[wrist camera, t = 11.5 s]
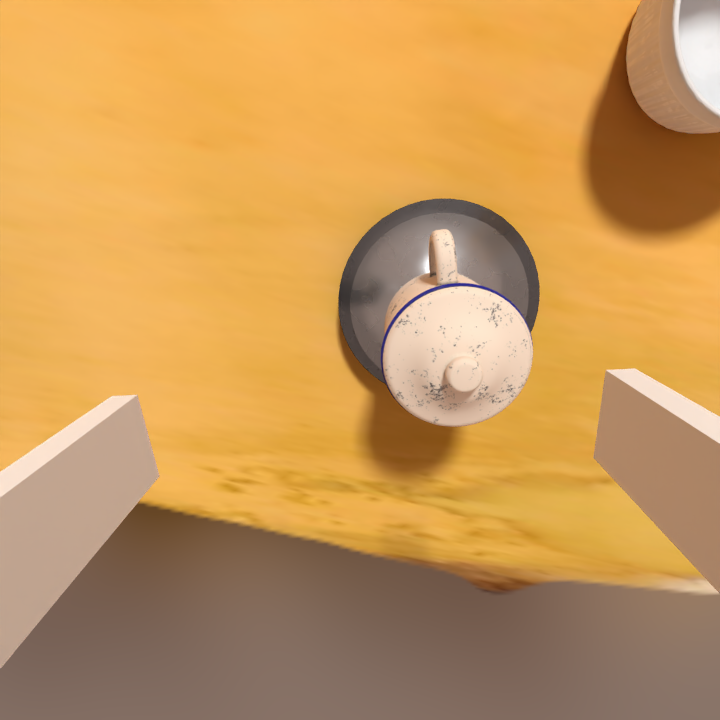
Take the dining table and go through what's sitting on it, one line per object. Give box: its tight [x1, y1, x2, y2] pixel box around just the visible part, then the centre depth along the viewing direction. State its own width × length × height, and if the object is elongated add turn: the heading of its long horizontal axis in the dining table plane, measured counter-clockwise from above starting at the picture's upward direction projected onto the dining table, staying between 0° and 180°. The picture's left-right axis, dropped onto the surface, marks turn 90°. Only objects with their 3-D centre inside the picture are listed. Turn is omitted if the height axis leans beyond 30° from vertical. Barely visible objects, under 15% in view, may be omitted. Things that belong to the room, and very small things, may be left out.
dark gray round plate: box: [339, 199, 539, 384], centre depth 33 cm, size 16×16×3 cm
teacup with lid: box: [381, 229, 533, 427], centre depth 26 cm, size 12×9×12 cm
